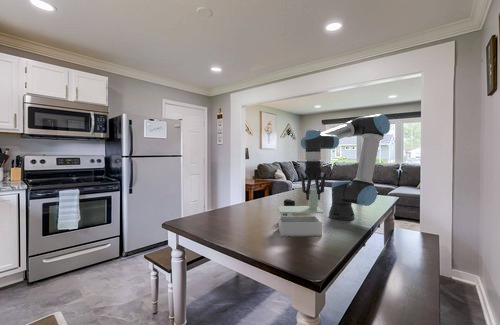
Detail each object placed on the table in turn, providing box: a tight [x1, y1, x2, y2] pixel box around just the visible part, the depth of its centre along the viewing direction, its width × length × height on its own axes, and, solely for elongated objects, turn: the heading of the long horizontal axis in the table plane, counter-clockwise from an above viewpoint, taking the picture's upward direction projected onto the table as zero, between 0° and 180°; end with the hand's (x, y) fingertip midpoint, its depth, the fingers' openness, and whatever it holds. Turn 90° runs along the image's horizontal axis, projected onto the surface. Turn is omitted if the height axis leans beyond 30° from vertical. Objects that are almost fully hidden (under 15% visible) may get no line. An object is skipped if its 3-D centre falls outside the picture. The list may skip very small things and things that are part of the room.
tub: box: [278, 215, 323, 238], centre depth 125 cm, size 20×12×7 cm, turn 89°
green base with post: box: [277, 188, 324, 215], centre depth 125 cm, size 21×13×11 cm, turn 89°
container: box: [280, 198, 299, 216], centre depth 146 cm, size 8×8×13 cm
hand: (313, 206), depth 125 cm, fingers closed on green base with post, 3 cm apart
